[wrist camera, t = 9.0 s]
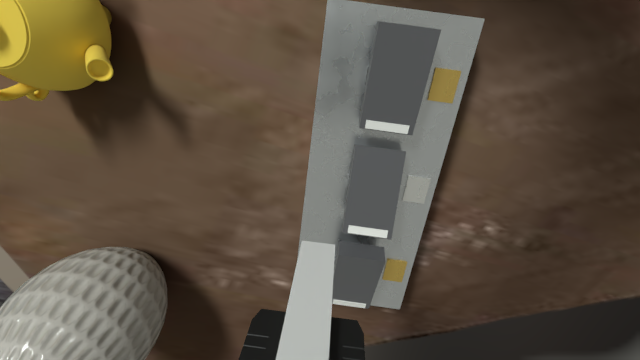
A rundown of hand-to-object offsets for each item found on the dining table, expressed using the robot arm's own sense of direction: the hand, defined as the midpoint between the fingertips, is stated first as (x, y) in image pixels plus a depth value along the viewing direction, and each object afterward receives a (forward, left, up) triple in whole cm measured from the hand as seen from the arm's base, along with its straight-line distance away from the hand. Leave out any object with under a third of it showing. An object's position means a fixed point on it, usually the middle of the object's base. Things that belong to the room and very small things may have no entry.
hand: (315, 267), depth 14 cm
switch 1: (-7, +5, -19) cm, 21 cm away
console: (+4, +5, -25) cm, 26 cm away
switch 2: (+4, +5, -19) cm, 20 cm away
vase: (+25, -26, -25) cm, 44 cm away
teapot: (-8, -29, -25) cm, 40 cm away
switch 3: (+15, +5, -18) cm, 24 cm away
